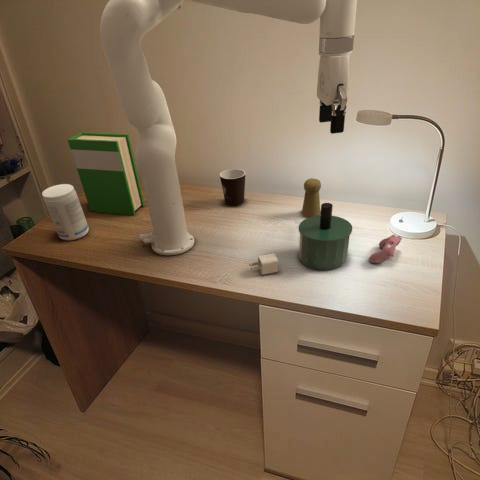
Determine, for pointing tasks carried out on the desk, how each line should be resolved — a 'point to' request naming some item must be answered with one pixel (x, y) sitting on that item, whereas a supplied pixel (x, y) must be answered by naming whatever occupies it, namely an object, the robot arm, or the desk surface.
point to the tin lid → (325, 226)
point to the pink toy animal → (386, 249)
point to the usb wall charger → (266, 264)
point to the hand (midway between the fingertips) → (330, 127)
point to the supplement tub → (65, 211)
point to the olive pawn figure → (311, 198)
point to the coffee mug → (233, 186)
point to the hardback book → (107, 172)
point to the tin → (323, 253)
